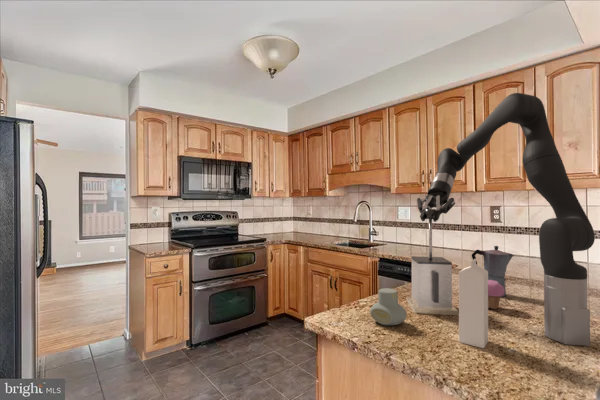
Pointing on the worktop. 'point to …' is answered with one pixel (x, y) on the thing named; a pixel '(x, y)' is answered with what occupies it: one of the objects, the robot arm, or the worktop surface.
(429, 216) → the joystick lever
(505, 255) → the moka pot
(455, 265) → the worktop surface
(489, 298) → the cupcake
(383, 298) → the air freshener
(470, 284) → the milk
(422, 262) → the arcade joystick
